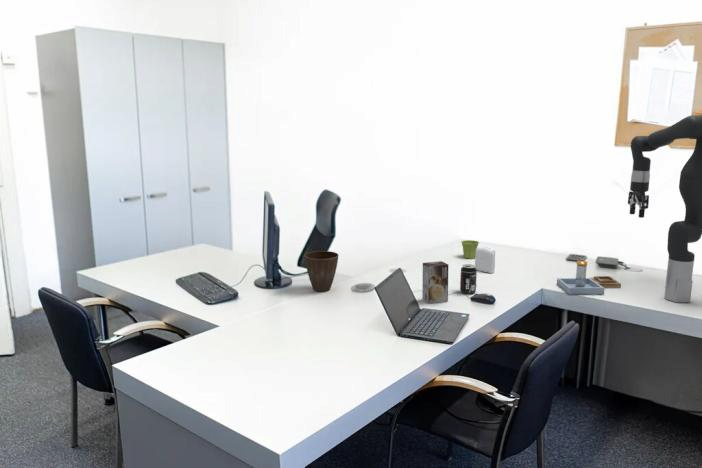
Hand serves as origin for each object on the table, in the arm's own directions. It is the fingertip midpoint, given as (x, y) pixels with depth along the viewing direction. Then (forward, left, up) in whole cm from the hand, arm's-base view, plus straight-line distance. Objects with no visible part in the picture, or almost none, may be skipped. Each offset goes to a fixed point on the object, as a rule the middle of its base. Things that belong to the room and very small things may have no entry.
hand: (636, 215), depth 263 cm
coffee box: (-30, +96, -30) cm, 105 cm away
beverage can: (-19, +80, -30) cm, 88 cm away
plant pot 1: (-14, +144, -30) cm, 148 cm away
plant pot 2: (+42, +67, -30) cm, 85 cm away
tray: (-16, +30, -30) cm, 45 cm away
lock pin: (-16, +30, -30) cm, 45 cm away
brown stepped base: (-9, +16, -30) cm, 35 cm away
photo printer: (+15, +65, -30) cm, 73 cm away
